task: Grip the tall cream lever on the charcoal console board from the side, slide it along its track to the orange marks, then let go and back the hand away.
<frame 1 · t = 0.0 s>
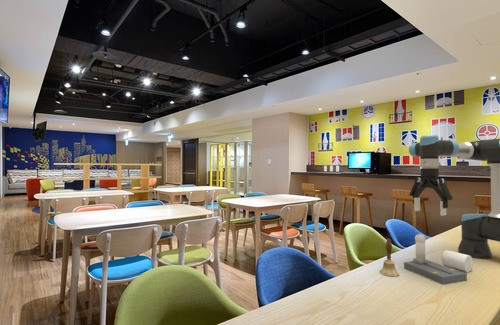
hand: (429, 213, 134), 28 cm above the table, tool pointing down, fingers open, 13 cm apart
console: (433, 274, 132), on the table
mug: (459, 268, 139), on the table
hand bell: (389, 273, 133), on the table
lever: (420, 248, 139), point 10 cm above the table, slide at -7.0 cm
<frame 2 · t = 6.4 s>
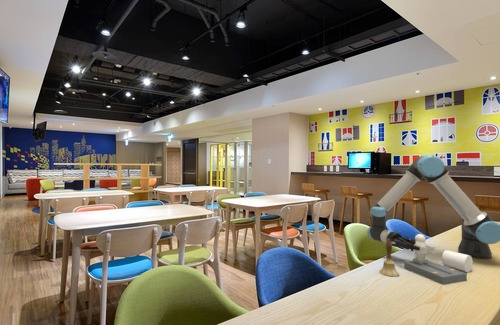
hand: (430, 250, 133), 10 cm above the table, tool horizontal, fingers closed on lever, 4 cm apart
lever: (420, 248, 139), point 10 cm above the table, slide at -7.0 cm, touching gripper
everything else where it was.
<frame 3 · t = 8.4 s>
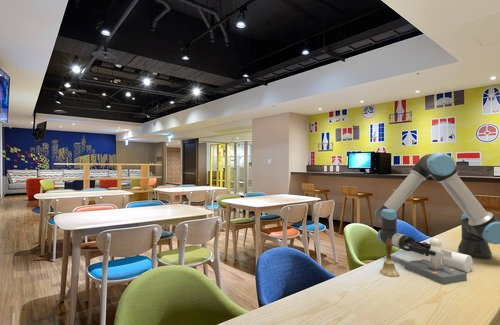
hand: (447, 255, 126), 11 cm above the table, tool horizontal, fingers closed on lever, 4 cm apart
lever: (435, 253, 131), point 10 cm above the table, slide at 1.2 cm, touching gripper
everything else where it was.
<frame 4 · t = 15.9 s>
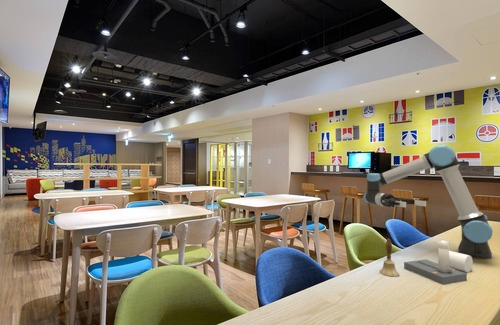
hand: (415, 204, 149), 30 cm above the table, tool horizontal, fingers open, 13 cm apart
lever: (443, 255, 127), point 10 cm above the table, slide at 5.0 cm
everything else where it was.
at the end: lever slide at 5.0 cm; the gripper is holding nothing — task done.
